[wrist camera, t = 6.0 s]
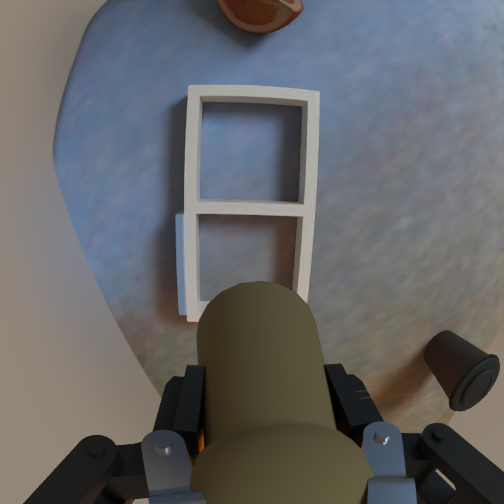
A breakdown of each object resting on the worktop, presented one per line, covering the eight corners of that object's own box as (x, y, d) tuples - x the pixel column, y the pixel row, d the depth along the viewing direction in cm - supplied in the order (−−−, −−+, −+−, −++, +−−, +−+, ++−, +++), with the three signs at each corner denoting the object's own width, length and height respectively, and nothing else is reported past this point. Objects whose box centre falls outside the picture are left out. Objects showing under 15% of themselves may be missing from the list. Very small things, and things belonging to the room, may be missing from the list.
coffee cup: (446, 371, 35) (482, 412, 25) (406, 372, 34) (441, 420, 24) (469, 322, 33) (514, 357, 23) (430, 318, 32) (477, 360, 22)
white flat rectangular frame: (186, 92, 25) (180, 83, 21) (312, 97, 25) (321, 89, 22) (184, 309, 30) (179, 324, 27) (299, 311, 31) (306, 326, 27)
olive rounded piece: (335, 302, 15) (456, 483, 4) (287, 392, 16) (327, 569, 5) (218, 263, 14) (185, 488, 3) (183, 365, 15) (145, 559, 5)
